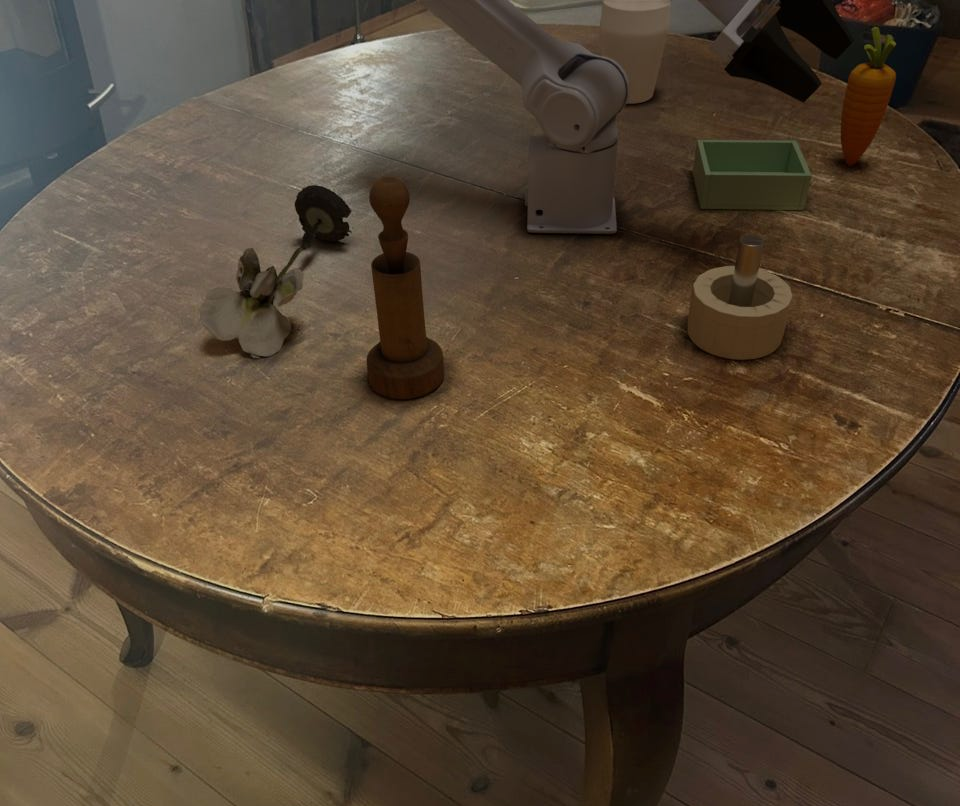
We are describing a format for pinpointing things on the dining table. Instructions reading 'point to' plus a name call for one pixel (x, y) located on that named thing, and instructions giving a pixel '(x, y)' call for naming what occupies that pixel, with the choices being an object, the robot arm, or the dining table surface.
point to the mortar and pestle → (399, 305)
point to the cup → (636, 41)
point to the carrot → (866, 99)
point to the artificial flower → (272, 280)
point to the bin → (751, 174)
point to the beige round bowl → (738, 315)
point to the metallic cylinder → (746, 270)
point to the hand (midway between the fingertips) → (829, 71)
